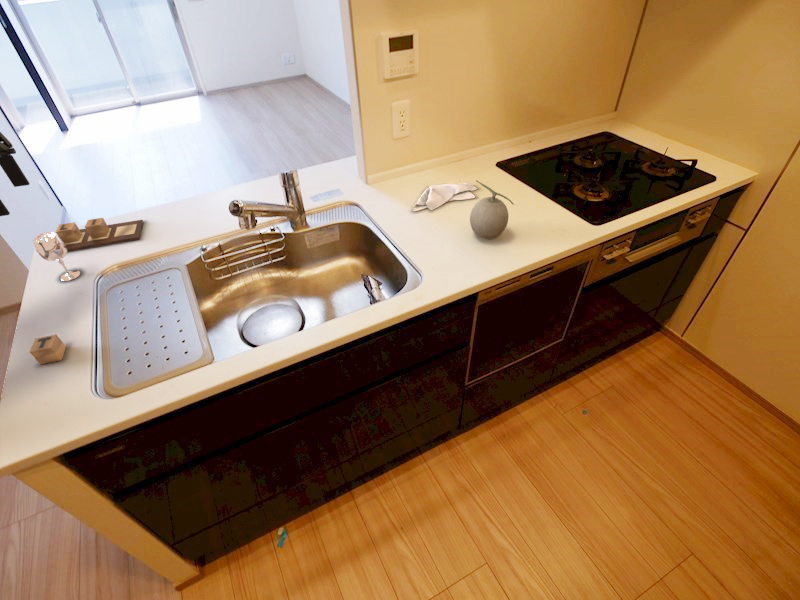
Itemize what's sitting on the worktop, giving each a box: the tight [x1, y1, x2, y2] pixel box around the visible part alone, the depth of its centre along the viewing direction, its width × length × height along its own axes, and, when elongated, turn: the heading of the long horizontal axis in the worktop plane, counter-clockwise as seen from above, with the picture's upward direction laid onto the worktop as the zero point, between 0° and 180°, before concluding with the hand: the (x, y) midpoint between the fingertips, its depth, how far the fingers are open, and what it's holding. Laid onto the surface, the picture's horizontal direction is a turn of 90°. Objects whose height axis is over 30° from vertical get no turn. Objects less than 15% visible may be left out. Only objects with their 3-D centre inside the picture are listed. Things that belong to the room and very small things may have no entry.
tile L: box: [55, 222, 82, 243], centre depth 121 cm, size 4×4×4 cm
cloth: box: [412, 182, 478, 212], centre depth 140 cm, size 26×14×2 cm, turn 115°
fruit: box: [469, 180, 515, 240], centre depth 118 cm, size 10×12×15 cm
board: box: [64, 219, 145, 253], centre depth 125 cm, size 22×10×1 cm, turn 108°
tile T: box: [29, 334, 67, 365], centre depth 90 cm, size 4×4×4 cm
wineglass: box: [32, 231, 81, 282], centre depth 108 cm, size 6×6×12 cm
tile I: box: [84, 217, 109, 239], centre depth 123 cm, size 4×4×4 cm
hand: (12, 199), depth 89 cm, fingers open, 13 cm apart
